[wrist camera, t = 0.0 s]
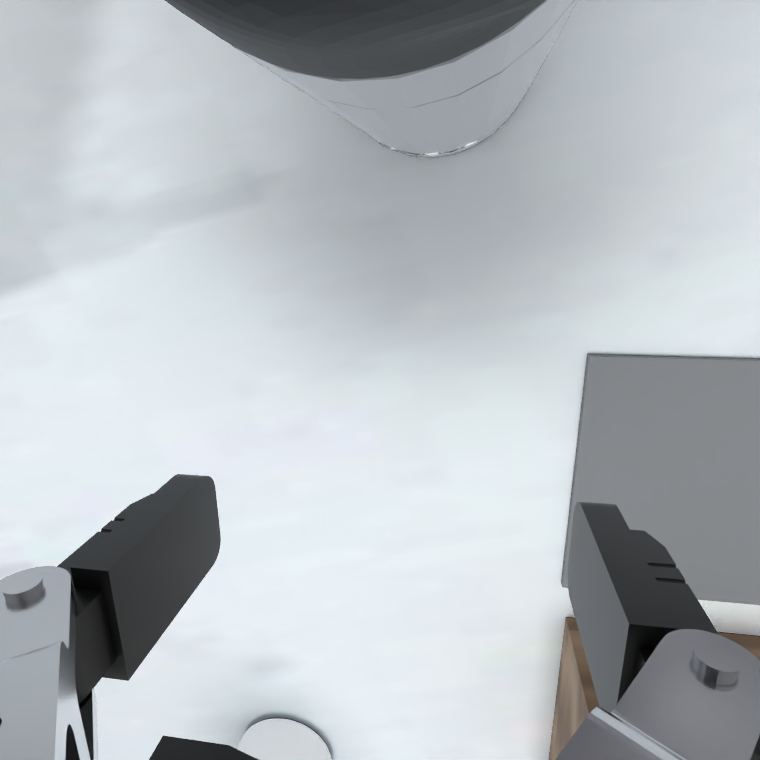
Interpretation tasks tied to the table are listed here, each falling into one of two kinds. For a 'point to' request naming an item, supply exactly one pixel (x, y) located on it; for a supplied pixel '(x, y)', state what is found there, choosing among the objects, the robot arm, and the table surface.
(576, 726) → the box
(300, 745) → the water bottle
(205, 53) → the table surface
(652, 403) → the mat
